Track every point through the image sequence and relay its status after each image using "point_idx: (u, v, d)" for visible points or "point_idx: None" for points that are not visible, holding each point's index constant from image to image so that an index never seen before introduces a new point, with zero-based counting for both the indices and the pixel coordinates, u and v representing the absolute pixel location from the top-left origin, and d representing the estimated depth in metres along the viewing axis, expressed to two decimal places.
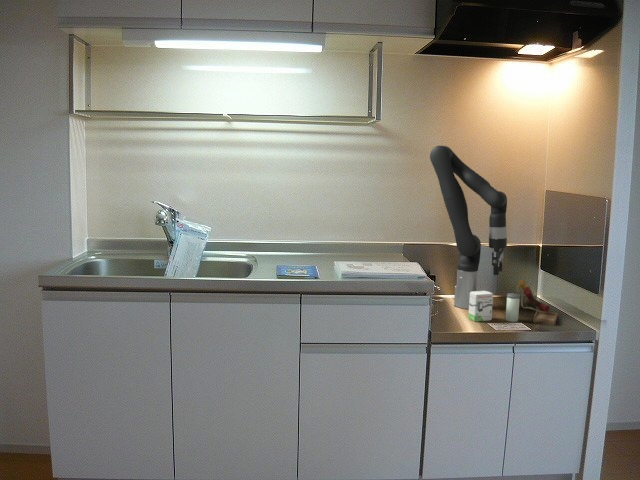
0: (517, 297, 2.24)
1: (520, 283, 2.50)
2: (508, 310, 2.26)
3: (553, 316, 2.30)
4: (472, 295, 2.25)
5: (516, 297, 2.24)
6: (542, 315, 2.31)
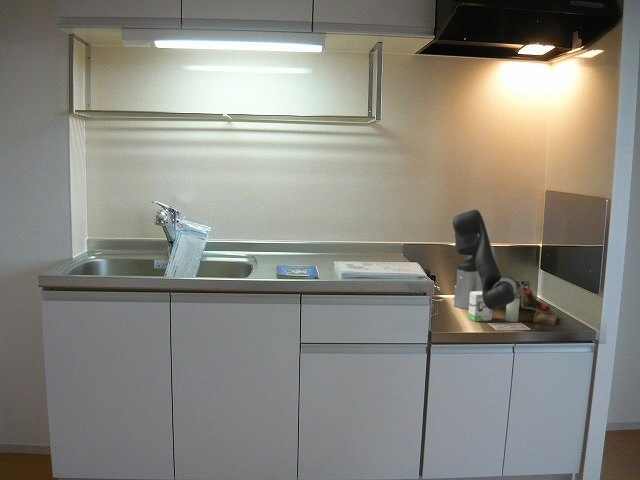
0: (517, 297, 2.24)
1: None
2: (508, 310, 2.26)
3: (553, 316, 2.30)
4: (472, 295, 2.25)
5: (516, 297, 2.24)
6: (542, 315, 2.31)
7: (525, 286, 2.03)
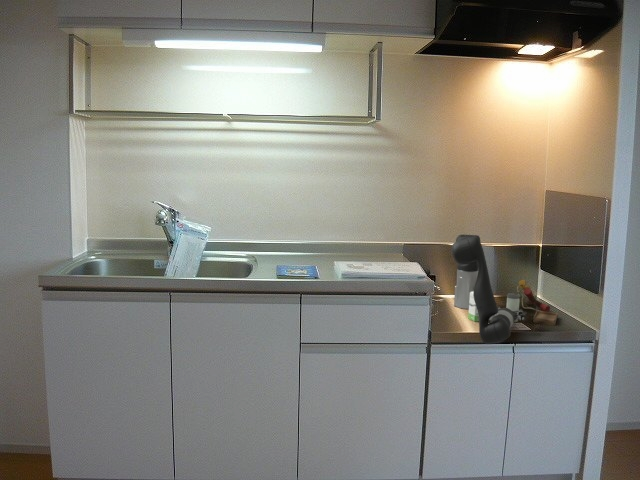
0: (517, 297, 2.24)
1: (520, 283, 2.50)
2: None
3: (553, 316, 2.30)
4: (472, 295, 2.25)
5: (516, 297, 2.24)
6: (542, 315, 2.31)
7: (522, 317, 2.08)
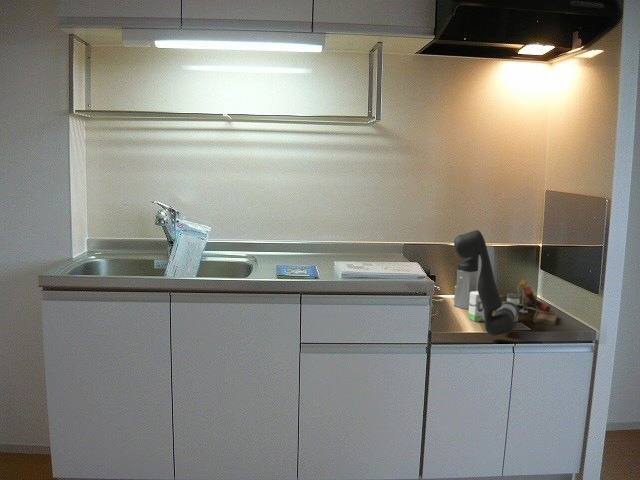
0: (517, 297, 2.24)
1: (521, 283, 2.50)
2: None
3: (553, 316, 2.30)
4: (472, 295, 2.25)
5: (516, 297, 2.24)
6: (542, 315, 2.31)
7: (526, 311, 2.17)
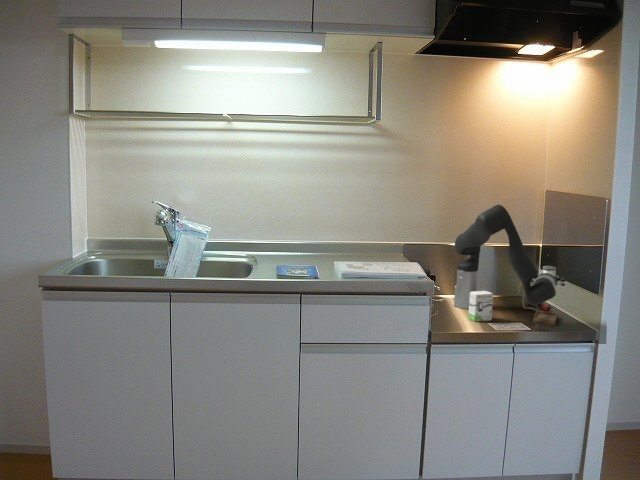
0: (553, 269, 2.22)
1: (521, 283, 2.50)
2: None
3: (553, 316, 2.30)
4: (472, 295, 2.25)
5: (552, 269, 2.21)
6: (542, 315, 2.31)
7: (563, 282, 2.15)
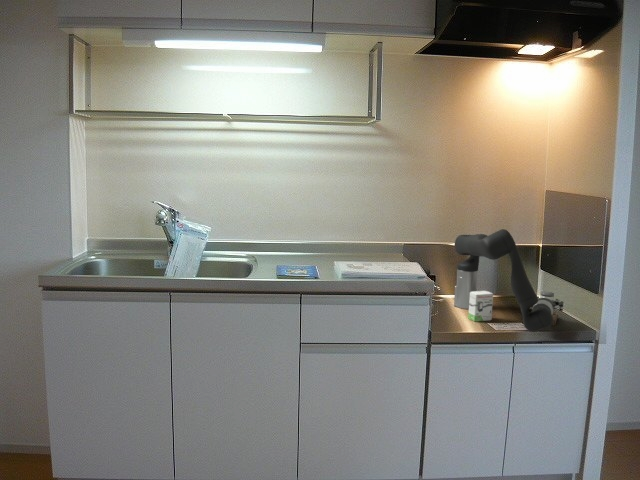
0: (551, 295, 2.23)
1: None
2: None
3: (553, 316, 2.30)
4: (472, 295, 2.25)
5: (550, 295, 2.23)
6: None
7: (561, 307, 2.16)
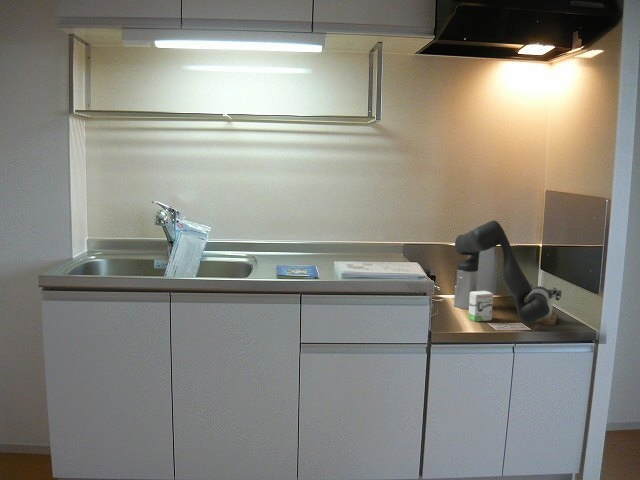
0: None
1: None
2: None
3: (553, 316, 2.30)
4: (472, 295, 2.25)
5: None
6: None
7: (557, 296, 2.06)
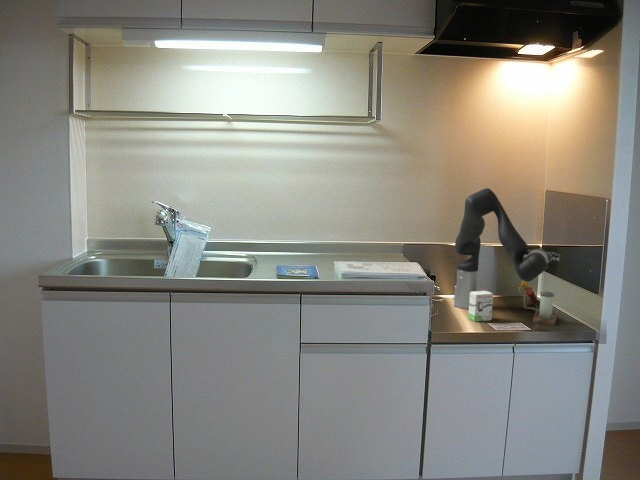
0: (551, 295, 2.23)
1: (523, 283, 2.49)
2: (542, 308, 2.25)
3: (553, 316, 2.30)
4: (472, 295, 2.25)
5: (550, 295, 2.23)
6: None
7: (556, 258, 2.05)
